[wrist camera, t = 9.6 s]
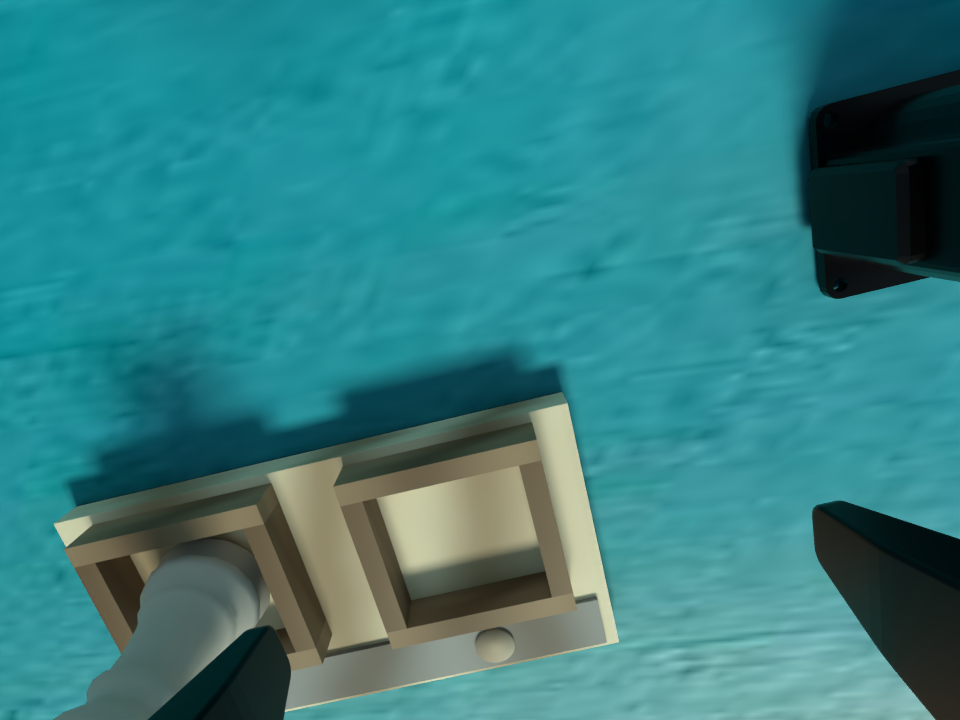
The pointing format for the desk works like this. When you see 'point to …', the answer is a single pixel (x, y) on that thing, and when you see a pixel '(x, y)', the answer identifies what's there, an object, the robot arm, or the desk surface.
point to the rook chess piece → (179, 628)
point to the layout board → (384, 550)
